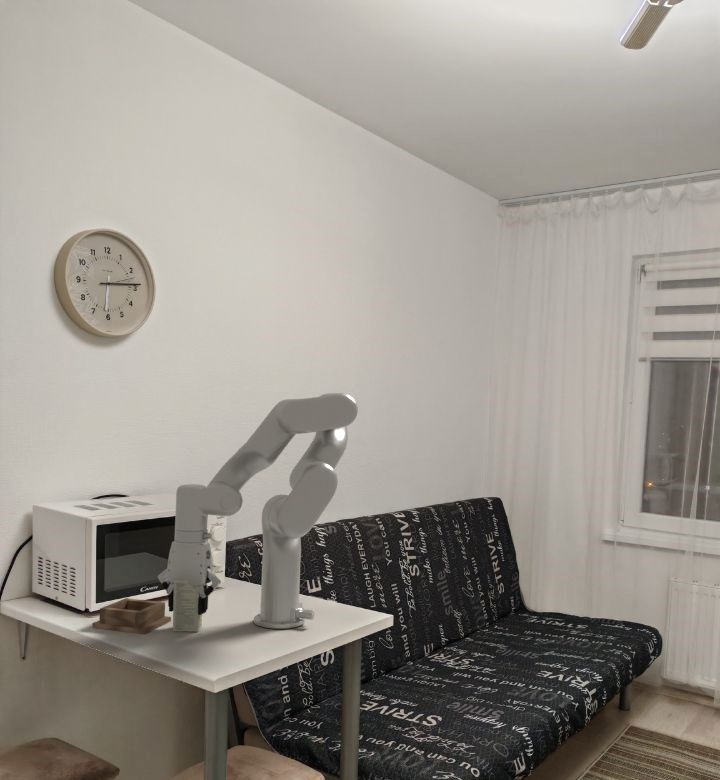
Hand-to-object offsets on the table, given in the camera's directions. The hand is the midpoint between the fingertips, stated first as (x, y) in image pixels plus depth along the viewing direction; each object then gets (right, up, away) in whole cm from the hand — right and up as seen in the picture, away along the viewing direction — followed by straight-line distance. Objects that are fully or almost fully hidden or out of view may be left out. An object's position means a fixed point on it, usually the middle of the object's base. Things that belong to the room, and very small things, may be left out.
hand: (187, 611), depth 184 cm
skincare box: (0, -4, 0) cm, 4 cm away
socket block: (-14, -4, +3) cm, 15 cm away
